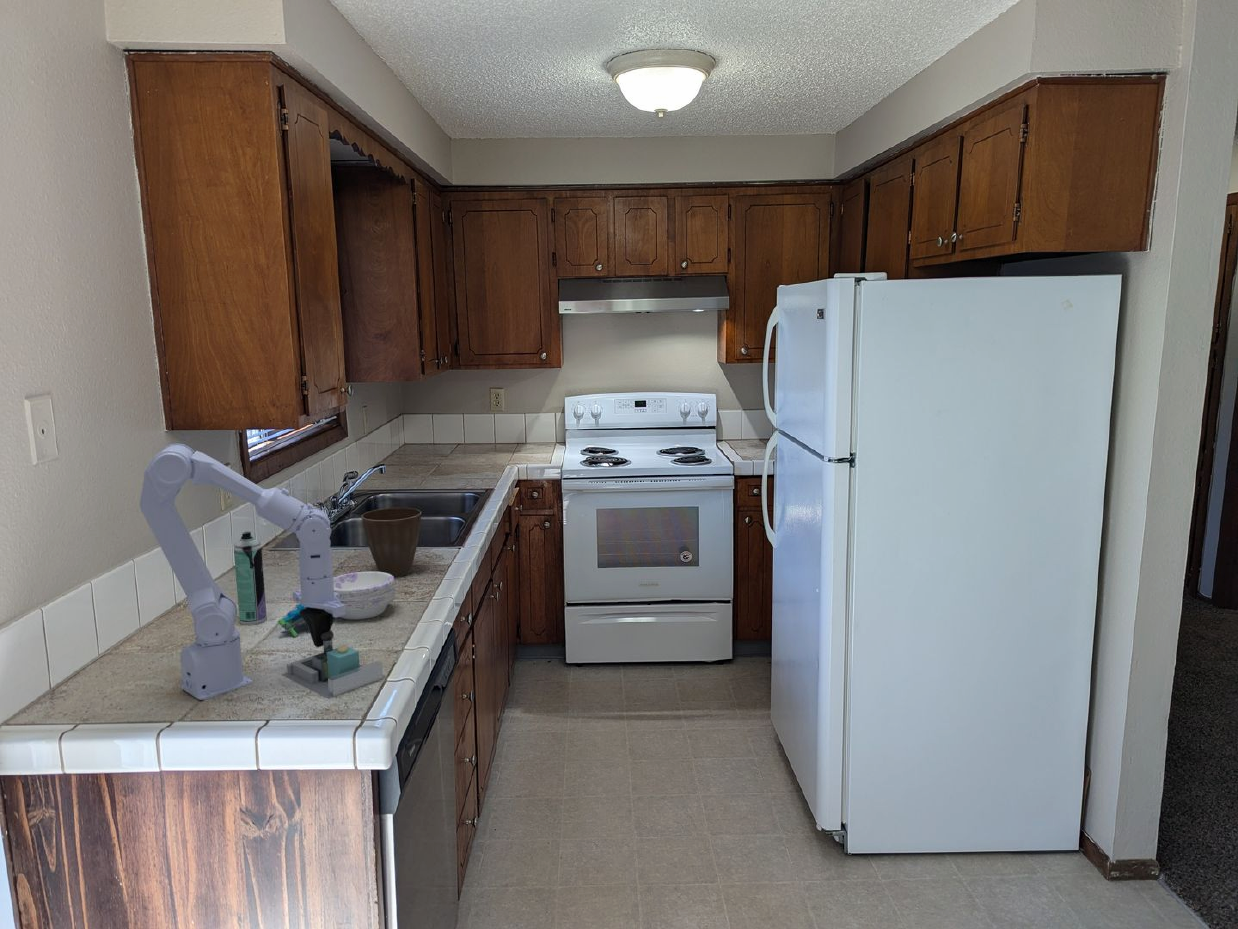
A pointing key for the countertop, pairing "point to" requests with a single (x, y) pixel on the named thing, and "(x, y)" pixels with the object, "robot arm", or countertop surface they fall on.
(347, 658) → the block
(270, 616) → the countertop surface
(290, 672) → the base
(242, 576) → the spray can
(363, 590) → the paper bowls
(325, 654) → the block
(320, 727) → the countertop surface
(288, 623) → the blue toy water gun
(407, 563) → the plant pot
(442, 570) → the countertop surface
